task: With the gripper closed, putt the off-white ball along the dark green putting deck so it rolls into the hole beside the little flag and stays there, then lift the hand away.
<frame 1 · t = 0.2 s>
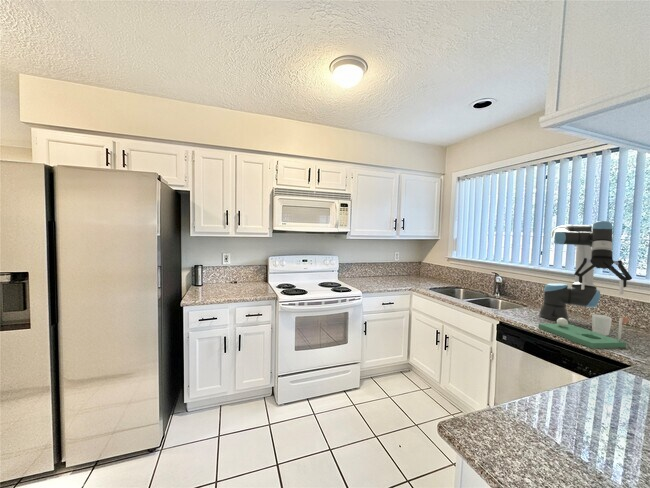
hand: (601, 291, 134), 28 cm above the worktop, tool tilted 20°, fingers open, 13 cm apart
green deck: (578, 336, 147), on the worktop
ball: (562, 322, 155), point 5 cm above the worktop, touching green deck
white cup: (600, 333, 154), on the worktop
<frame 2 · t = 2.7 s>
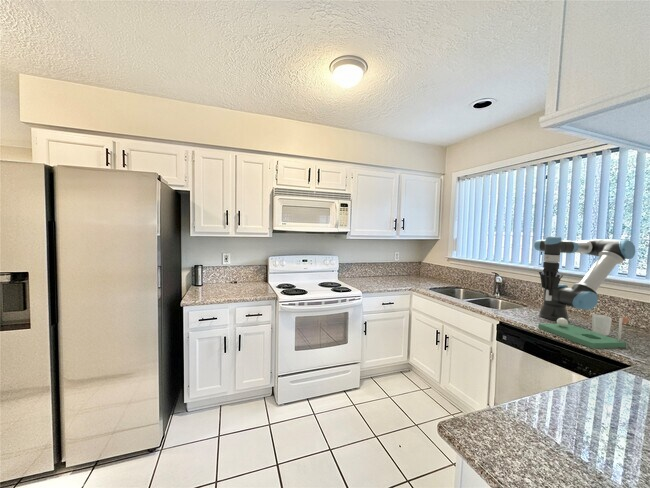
hand: (548, 300, 164), 15 cm above the worktop, tool pointing down, fingers closed
nothing on the worktop moved.
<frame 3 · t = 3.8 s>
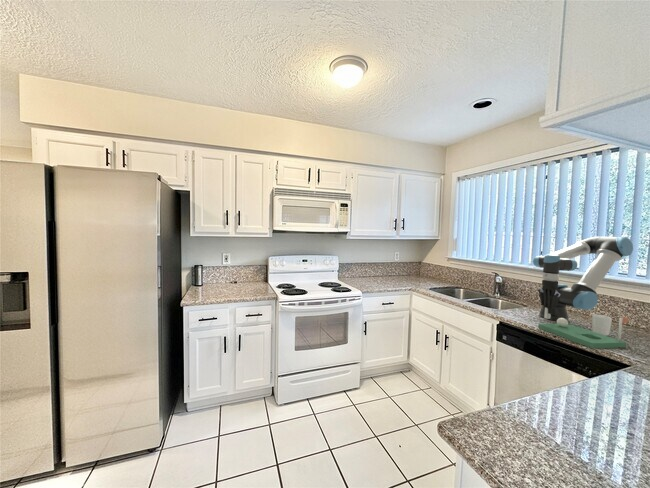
hand: (547, 318, 164), 4 cm above the worktop, tool pointing down, fingers closed
nothing on the worktop moved.
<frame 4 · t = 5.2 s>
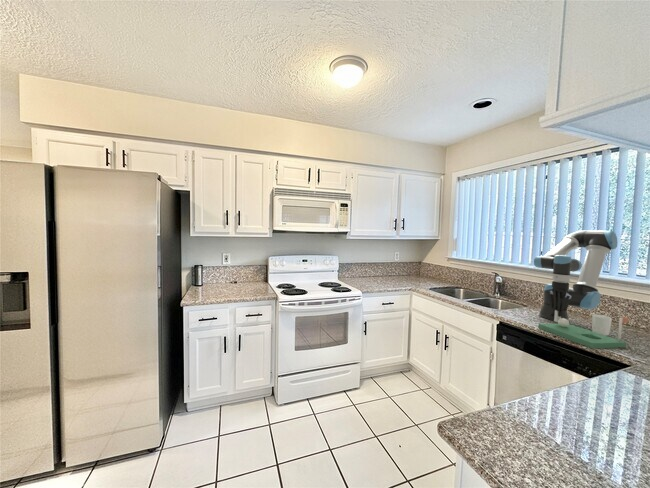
hand: (557, 321, 158), 5 cm above the worktop, tool pointing down, fingers closed
ball: (563, 322, 155), point 5 cm above the worktop, tilted 14°, touching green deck
everything else where it was.
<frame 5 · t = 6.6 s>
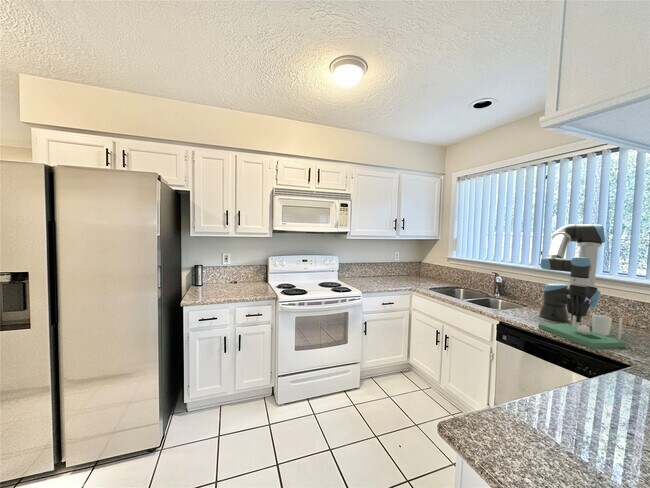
hand: (575, 327, 148), 5 cm above the worktop, tool pointing down, fingers closed
ball: (583, 329, 143), point 5 cm above the worktop, tilted 91°, touching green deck
everything else where it was.
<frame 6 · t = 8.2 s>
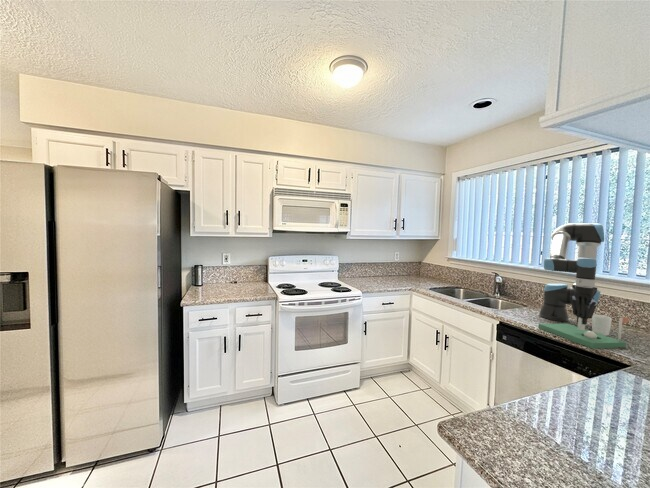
hand: (581, 329, 145), 4 cm above the worktop, tool pointing down, fingers closed
ball: (590, 335, 142), point 2 cm above the worktop, tilted 47°
everything else where it was.
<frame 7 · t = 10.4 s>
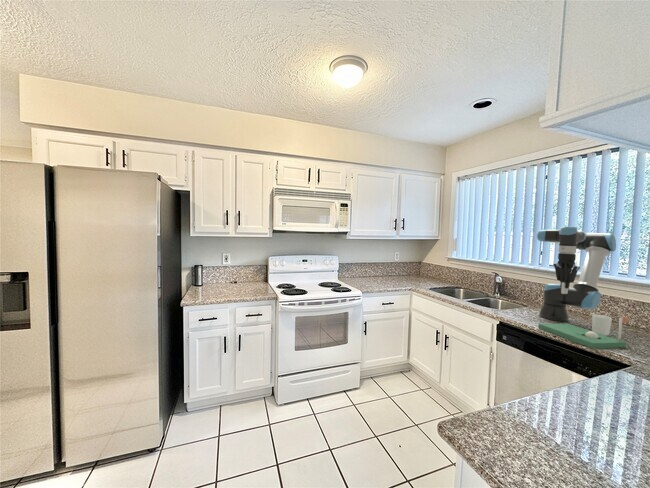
hand: (564, 293, 156), 22 cm above the worktop, tool pointing down, fingers closed
nothing on the worktop moved.
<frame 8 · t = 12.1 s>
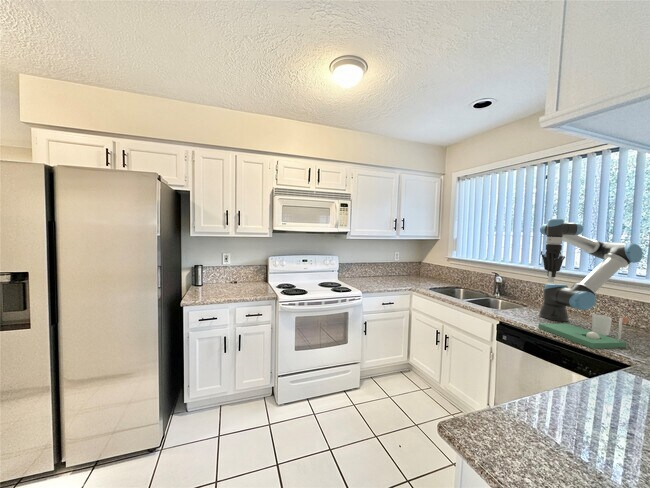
hand: (550, 282, 166), 26 cm above the worktop, tool pointing down, fingers closed
at the end: ball 0.8 cm from the target spot on the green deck, point 2.5 cm above the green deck's base; the gripper is holding nothing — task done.
